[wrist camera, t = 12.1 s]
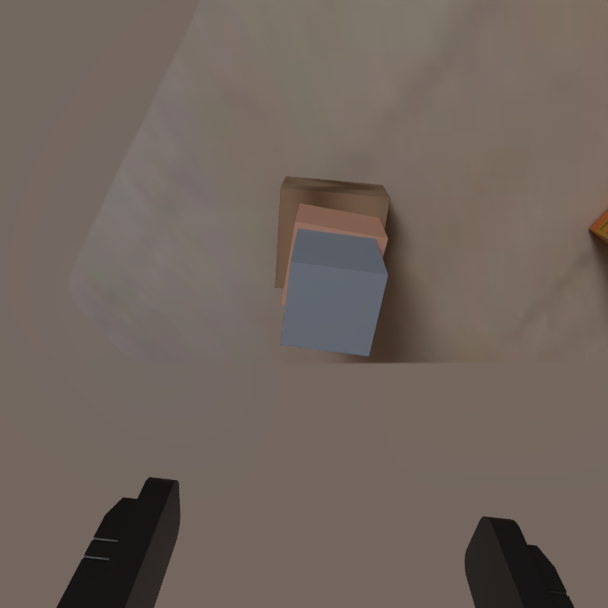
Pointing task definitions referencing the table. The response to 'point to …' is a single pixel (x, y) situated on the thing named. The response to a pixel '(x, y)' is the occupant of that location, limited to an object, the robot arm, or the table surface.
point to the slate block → (333, 292)
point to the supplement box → (601, 227)
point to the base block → (324, 195)
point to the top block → (336, 228)
